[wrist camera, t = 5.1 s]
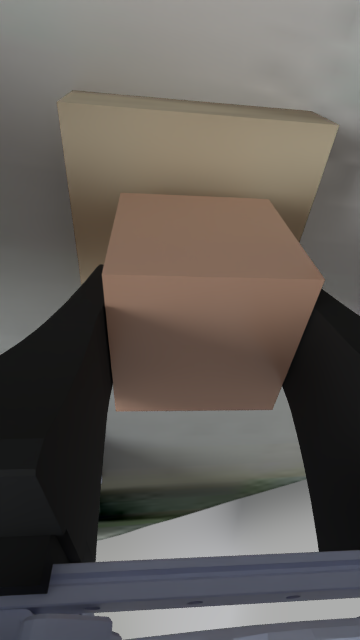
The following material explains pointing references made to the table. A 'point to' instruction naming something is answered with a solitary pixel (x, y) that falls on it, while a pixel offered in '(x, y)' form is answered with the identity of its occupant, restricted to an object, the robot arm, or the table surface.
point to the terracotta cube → (203, 302)
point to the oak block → (184, 158)
